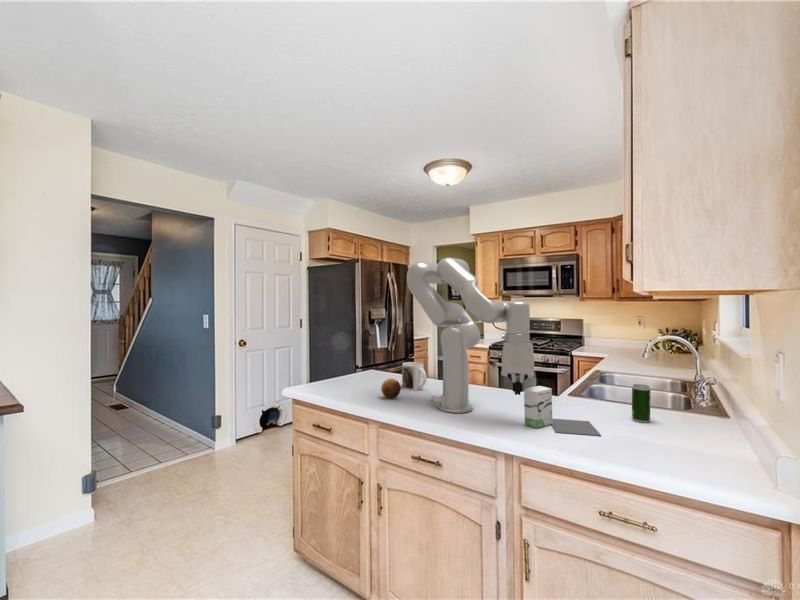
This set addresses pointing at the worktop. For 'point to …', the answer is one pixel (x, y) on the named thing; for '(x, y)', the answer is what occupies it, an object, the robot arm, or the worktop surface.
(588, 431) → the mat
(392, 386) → the fruit
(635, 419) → the beer can
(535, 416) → the ink box
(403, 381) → the mug
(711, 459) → the worktop surface
